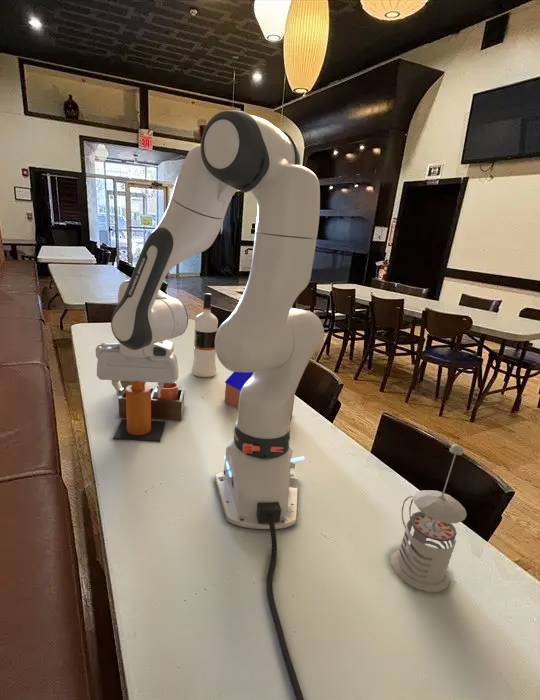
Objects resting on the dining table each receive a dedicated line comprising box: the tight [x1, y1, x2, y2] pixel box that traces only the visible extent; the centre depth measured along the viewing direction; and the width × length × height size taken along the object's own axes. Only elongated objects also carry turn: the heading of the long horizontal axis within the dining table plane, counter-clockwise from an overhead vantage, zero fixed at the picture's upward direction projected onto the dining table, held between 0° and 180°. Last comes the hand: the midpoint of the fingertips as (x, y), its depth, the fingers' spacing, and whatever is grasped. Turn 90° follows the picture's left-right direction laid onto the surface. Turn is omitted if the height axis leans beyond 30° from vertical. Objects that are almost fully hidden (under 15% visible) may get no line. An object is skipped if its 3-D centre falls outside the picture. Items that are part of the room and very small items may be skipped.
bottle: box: [126, 380, 152, 435], centre depth 108 cm, size 6×6×17 cm
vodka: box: [191, 292, 219, 378], centre depth 150 cm, size 9×9×30 cm
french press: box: [390, 443, 468, 593], centre depth 69 cm, size 10×12×25 cm
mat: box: [112, 418, 166, 443], centre depth 111 cm, size 11×12×1 cm
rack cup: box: [156, 382, 179, 400], centre depth 121 cm, size 6×6×9 cm
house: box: [224, 372, 296, 419], centre depth 128 cm, size 12×20×12 cm, turn 38°
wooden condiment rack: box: [118, 386, 186, 422], centre depth 121 cm, size 9×18×6 cm, turn 92°
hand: (138, 396), depth 108 cm, fingers open, 8 cm apart
